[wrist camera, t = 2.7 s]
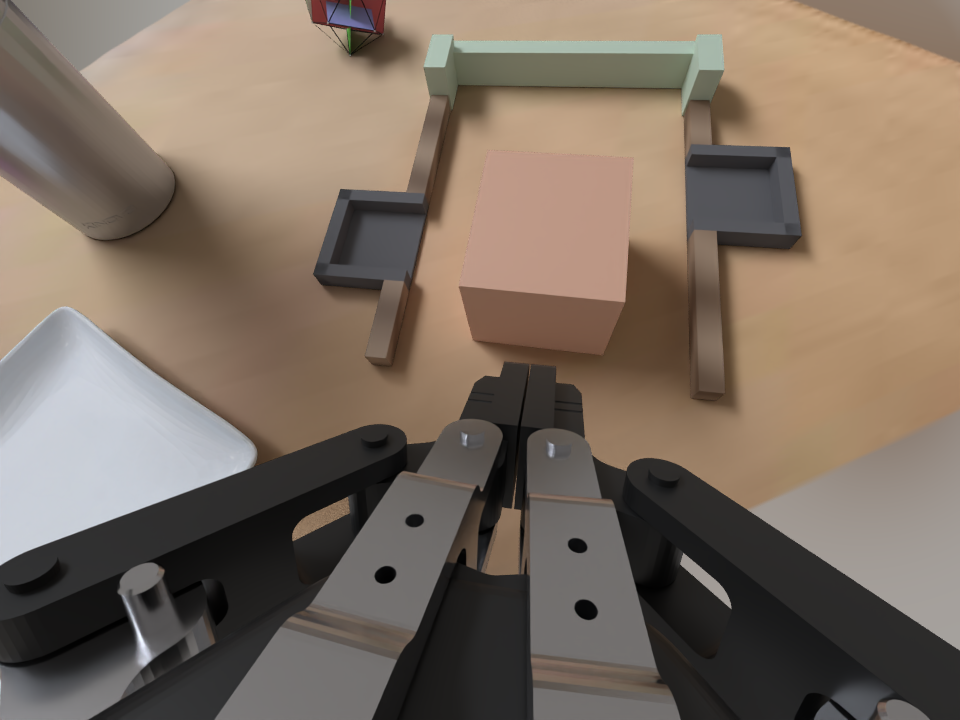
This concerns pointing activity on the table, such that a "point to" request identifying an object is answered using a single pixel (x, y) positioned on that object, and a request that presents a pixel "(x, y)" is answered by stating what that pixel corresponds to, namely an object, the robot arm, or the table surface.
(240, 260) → the table surface
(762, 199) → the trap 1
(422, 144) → the walnut lane
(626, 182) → the terracotta block
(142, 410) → the salad plate
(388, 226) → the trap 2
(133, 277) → the table surface
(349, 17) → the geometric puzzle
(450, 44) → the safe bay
